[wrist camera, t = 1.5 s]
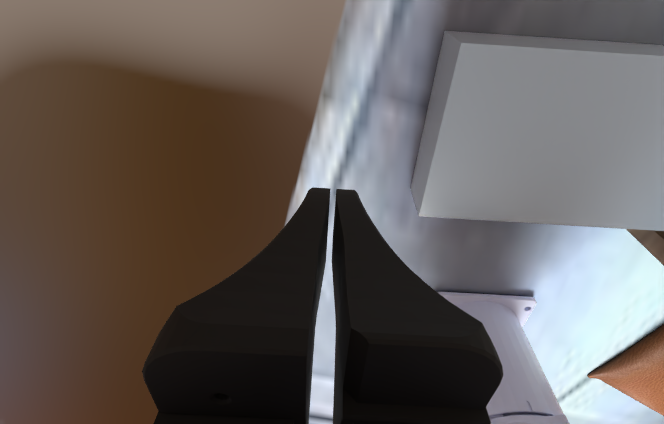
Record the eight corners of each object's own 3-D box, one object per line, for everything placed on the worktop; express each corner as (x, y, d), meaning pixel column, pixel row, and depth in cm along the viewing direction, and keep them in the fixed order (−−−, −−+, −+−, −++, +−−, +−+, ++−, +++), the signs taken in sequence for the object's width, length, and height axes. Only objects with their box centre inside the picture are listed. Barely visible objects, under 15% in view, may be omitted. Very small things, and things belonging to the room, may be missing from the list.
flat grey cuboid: (629, 201, 23) (663, 231, 20) (410, 188, 23) (418, 216, 20) (729, 49, 17) (791, 64, 15) (444, 30, 17) (461, 42, 15)
